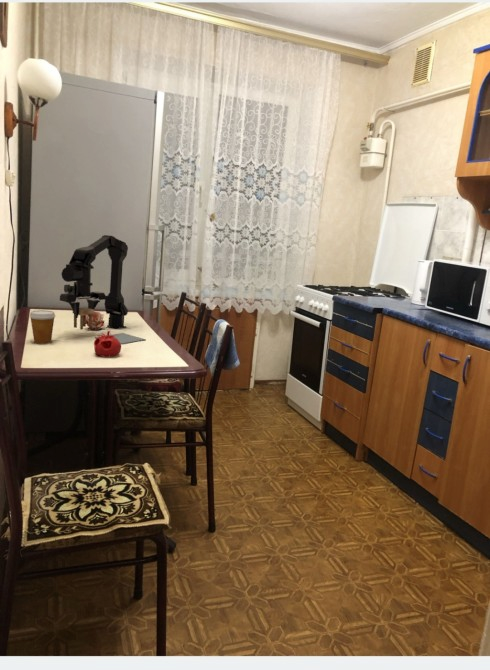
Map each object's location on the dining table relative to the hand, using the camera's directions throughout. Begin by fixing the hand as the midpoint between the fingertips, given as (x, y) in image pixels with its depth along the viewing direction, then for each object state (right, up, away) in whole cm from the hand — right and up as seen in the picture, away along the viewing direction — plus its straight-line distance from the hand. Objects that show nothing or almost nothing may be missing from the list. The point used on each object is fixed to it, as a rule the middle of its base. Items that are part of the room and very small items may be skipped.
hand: (83, 317), depth 214 cm
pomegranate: (+16, -15, -23) cm, 32 cm away
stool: (0, -4, +1) cm, 4 cm away
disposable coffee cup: (-12, -10, -12) cm, 20 cm away
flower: (-1, -5, +18) cm, 19 cm away
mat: (+15, -9, +3) cm, 18 cm away
